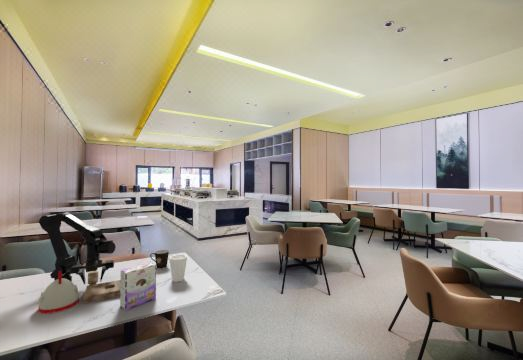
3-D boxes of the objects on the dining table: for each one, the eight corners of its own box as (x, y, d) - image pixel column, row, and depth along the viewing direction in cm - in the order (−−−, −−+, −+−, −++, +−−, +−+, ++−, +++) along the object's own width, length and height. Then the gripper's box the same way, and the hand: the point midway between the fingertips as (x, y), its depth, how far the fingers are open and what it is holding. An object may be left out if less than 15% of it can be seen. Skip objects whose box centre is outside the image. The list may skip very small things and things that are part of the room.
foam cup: (165, 282, 133) (165, 258, 133) (175, 275, 142) (175, 253, 142) (180, 283, 130) (181, 260, 131) (189, 277, 139) (189, 255, 140)
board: (83, 303, 108) (83, 297, 109) (87, 291, 121) (87, 285, 121) (123, 295, 117) (123, 289, 117) (123, 284, 129) (123, 279, 129)
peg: (87, 290, 122) (87, 274, 122) (88, 287, 126) (88, 271, 126) (97, 288, 124) (97, 273, 124) (98, 285, 128) (98, 270, 128)
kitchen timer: (77, 295, 117) (78, 264, 117) (80, 306, 107) (80, 272, 107) (39, 304, 108) (39, 271, 108) (37, 317, 98) (38, 280, 98)
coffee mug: (171, 266, 158) (171, 251, 158) (159, 270, 151) (160, 254, 151) (160, 262, 164) (160, 248, 164) (148, 266, 157) (149, 251, 157)
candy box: (150, 295, 117) (150, 261, 117) (156, 298, 113) (156, 264, 114) (119, 306, 107) (120, 269, 107) (125, 310, 103) (125, 272, 103)
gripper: (67, 260, 114) (67, 293, 113) (113, 254, 123) (113, 284, 123) (71, 254, 123) (71, 284, 123) (114, 249, 133) (113, 277, 132)
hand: (92, 282), depth 125 cm, fingers open, 7 cm apart
